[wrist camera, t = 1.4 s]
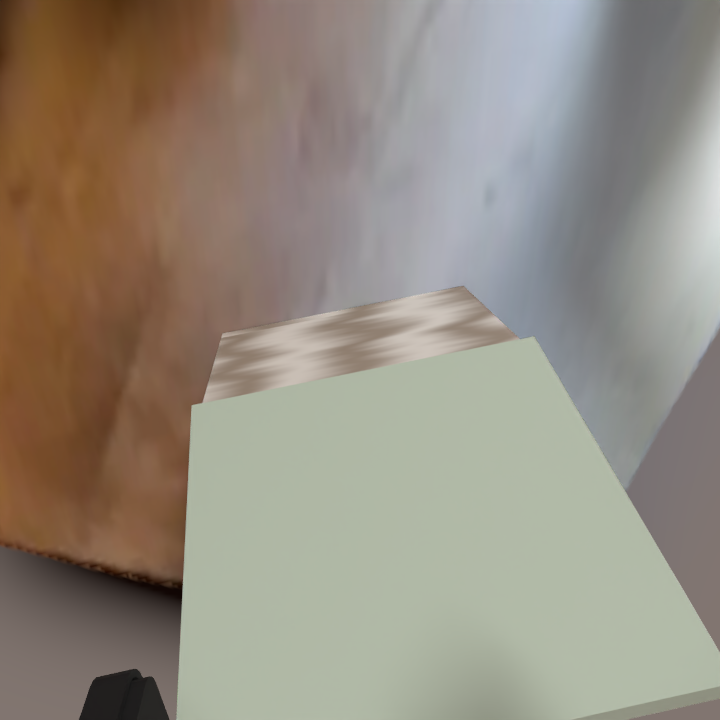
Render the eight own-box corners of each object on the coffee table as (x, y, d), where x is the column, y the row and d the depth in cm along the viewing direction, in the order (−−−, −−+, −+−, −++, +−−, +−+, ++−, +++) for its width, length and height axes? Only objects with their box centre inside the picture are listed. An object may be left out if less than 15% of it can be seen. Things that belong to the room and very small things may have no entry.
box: (463, 286, 46) (533, 351, 33) (488, 492, 52) (556, 617, 39) (222, 333, 46) (197, 419, 33) (275, 537, 52) (272, 679, 39)
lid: (533, 351, 33) (534, 336, 33) (729, 696, 20) (737, 682, 20) (197, 419, 33) (191, 405, 32) (182, 820, 20) (172, 809, 19)
